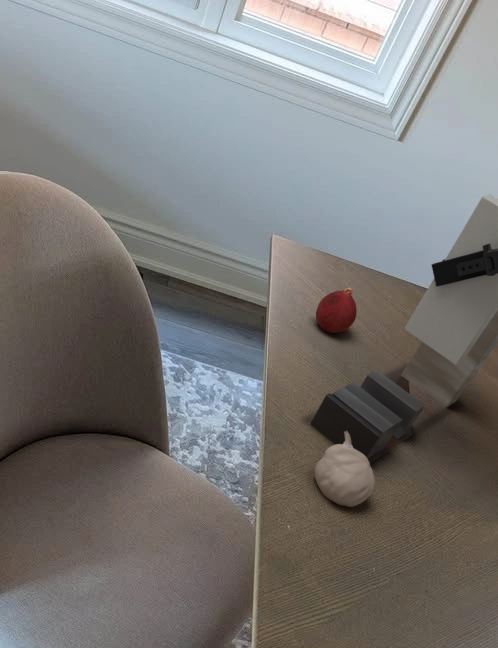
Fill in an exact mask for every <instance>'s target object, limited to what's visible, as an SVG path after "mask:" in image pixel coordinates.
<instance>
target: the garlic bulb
mask: <svg viewBox="0 0 498 648" xmlns="http://www.w3.org/2000/svg"><path fill="white" fill-rule="evenodd" d="M344 435H345V441H344V443H343V444H336V445H334V444H333V445H331V446H329V447H327V448H326V449H325V452H324V455H323V456H322V457H321V459H319V461H318V462H317V463H316V465H315V466H314V472H313V473H314V477H315V481H316V484H317V487H318V488H319V490H320V491H321V494H322V495H323V496H324V497H326V498H327V499H328V500H329V501H331V502H333V503H334V504H336V505H339V506H343V507H349V508H352V507H356V506H358V505H360V504H362V503H364V502H365V501H367V500H368V499H369V498H370V497H371V495H372V494H373V492H374V490H375V486H376V479H375V478H376V477H375V473H374V470H373V469H372V467H371V463H369V461H368V459H367V457H366V456H365V455H364V454H362V453H361V452H359V451H357V450H356V449H354V448H353V446H352V444H351V438H350V435H349V433H348V432H347V431H346V432H344Z"/></svg>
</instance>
